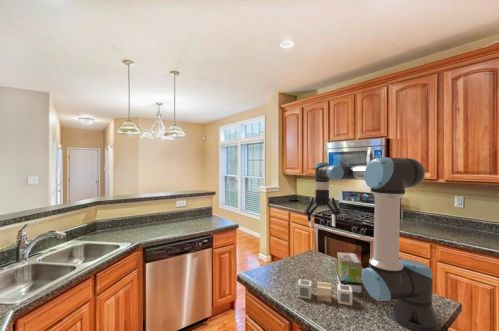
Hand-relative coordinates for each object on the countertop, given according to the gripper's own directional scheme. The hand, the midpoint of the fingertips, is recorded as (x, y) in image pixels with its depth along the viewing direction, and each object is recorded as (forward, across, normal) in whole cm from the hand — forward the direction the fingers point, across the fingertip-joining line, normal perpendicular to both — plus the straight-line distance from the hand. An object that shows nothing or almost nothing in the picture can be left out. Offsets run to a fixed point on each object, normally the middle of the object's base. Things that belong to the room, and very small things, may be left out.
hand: (322, 226), depth 144 cm
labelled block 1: (+28, +18, +21) cm, 39 cm away
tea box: (+28, -8, +14) cm, 32 cm away
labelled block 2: (+28, +1, +28) cm, 39 cm away
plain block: (+28, +10, +24) cm, 38 cm away
